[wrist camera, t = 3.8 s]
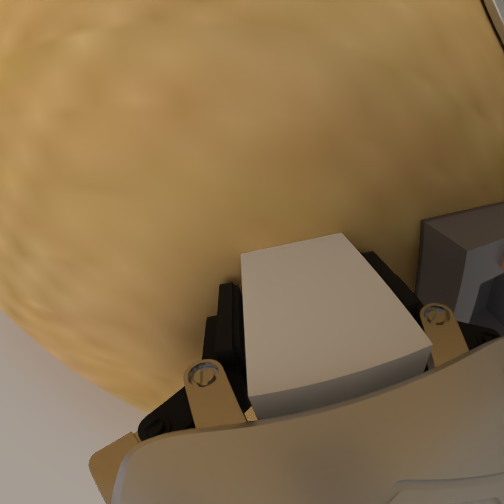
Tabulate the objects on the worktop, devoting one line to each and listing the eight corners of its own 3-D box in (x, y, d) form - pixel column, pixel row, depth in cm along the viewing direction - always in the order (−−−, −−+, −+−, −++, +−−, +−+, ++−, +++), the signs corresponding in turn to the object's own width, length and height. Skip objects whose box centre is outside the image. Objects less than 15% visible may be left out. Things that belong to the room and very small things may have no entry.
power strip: (421, 220, 11) (475, 256, 8) (550, 190, 11) (583, 208, 7) (386, 409, 19) (401, 445, 15) (507, 346, 18) (525, 368, 14)
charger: (240, 253, 12) (248, 401, 5) (341, 232, 11) (435, 348, 5) (260, 331, 14) (276, 464, 7) (344, 311, 13) (401, 429, 7)
